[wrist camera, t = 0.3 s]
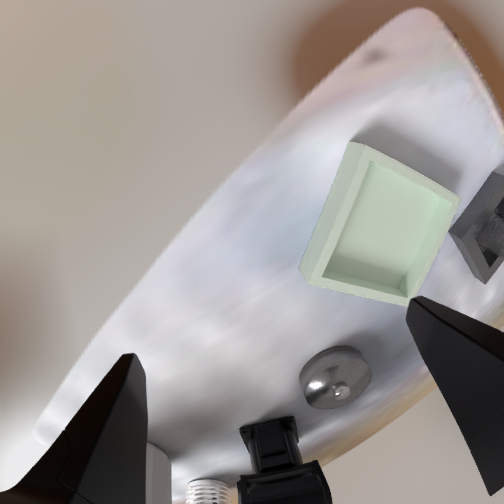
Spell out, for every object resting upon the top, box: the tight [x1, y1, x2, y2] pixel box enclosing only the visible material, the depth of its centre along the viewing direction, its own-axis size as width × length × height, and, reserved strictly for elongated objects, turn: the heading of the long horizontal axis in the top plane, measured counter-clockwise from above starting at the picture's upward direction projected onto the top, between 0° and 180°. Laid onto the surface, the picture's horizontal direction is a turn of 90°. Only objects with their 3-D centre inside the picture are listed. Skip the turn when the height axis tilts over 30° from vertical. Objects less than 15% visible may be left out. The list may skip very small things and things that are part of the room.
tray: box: [298, 141, 461, 307], centre depth 23 cm, size 11×11×2 cm
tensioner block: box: [448, 172, 504, 284], centre depth 26 cm, size 8×8×2 cm
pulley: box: [300, 346, 371, 409], centre depth 29 cm, size 7×7×3 cm
